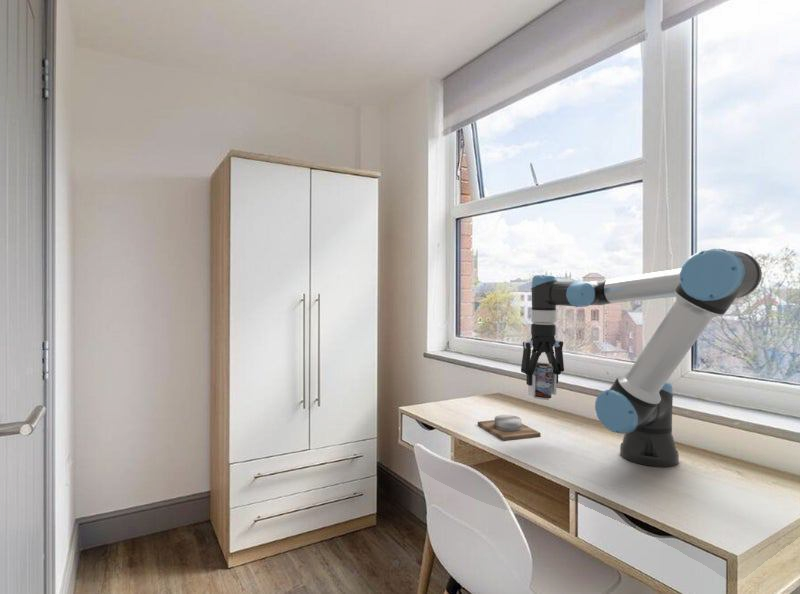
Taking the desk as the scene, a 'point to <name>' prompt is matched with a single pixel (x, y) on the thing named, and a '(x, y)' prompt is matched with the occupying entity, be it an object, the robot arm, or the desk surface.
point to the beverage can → (543, 380)
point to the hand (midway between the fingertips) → (542, 394)
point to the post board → (509, 434)
